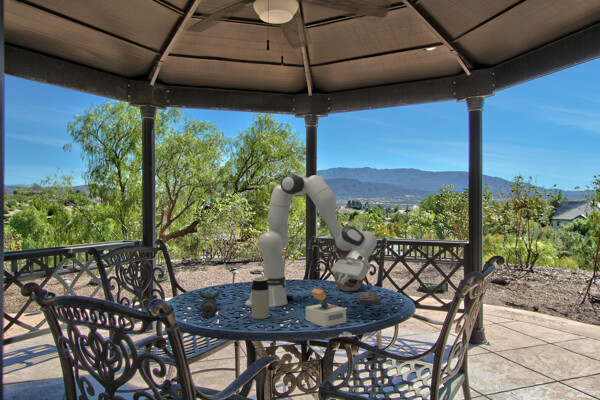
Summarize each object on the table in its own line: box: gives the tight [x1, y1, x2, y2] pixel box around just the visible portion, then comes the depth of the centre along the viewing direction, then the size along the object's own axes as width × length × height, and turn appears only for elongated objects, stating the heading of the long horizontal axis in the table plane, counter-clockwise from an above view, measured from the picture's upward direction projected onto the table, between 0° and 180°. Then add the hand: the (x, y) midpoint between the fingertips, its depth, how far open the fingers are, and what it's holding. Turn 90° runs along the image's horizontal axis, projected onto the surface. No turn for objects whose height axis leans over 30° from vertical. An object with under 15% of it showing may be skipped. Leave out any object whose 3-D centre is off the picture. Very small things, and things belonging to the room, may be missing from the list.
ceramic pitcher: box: [328, 249, 364, 292], centre depth 246 cm, size 18×21×25 cm
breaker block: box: [305, 302, 347, 328], centre depth 178 cm, size 12×14×6 cm
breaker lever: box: [310, 288, 329, 308], centre depth 177 cm, size 2×6×9 cm
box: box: [357, 291, 380, 306], centre depth 217 cm, size 11×17×3 cm, turn 175°
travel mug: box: [251, 276, 270, 320], centre depth 186 cm, size 8×8×18 cm
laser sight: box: [199, 288, 220, 318], centre depth 196 cm, size 10×22×10 cm, turn 10°
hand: (339, 283), depth 183 cm, fingers closed
